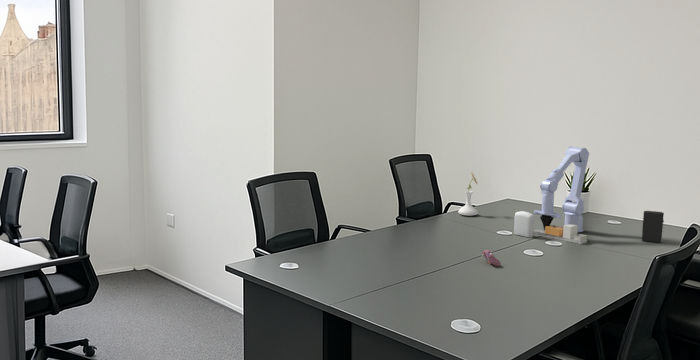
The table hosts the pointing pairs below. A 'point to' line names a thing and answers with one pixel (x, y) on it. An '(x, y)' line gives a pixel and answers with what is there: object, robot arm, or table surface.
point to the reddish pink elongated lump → (490, 258)
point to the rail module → (569, 231)
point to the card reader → (652, 226)
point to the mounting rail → (577, 238)
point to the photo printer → (523, 224)
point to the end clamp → (554, 230)
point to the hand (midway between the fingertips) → (546, 230)
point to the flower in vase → (468, 208)
